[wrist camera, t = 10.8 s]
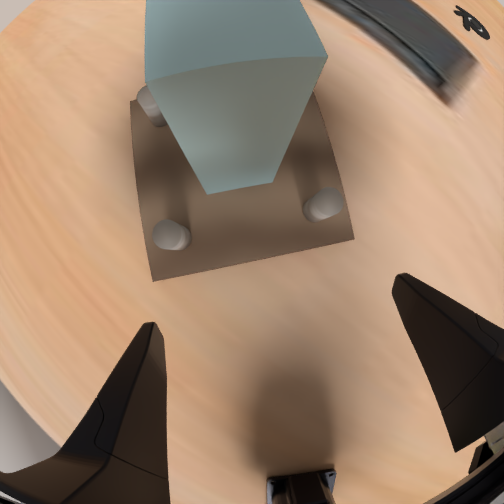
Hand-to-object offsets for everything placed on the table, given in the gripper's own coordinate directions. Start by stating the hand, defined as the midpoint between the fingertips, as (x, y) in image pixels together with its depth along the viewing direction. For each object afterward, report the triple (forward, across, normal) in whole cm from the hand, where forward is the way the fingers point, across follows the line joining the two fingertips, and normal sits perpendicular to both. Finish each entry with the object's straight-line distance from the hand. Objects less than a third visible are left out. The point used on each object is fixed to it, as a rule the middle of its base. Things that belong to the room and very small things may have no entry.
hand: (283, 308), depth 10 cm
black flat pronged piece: (+27, -40, -20) cm, 52 cm away
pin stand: (+13, 0, -1) cm, 13 cm away
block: (+12, 0, -2) cm, 12 cm away
